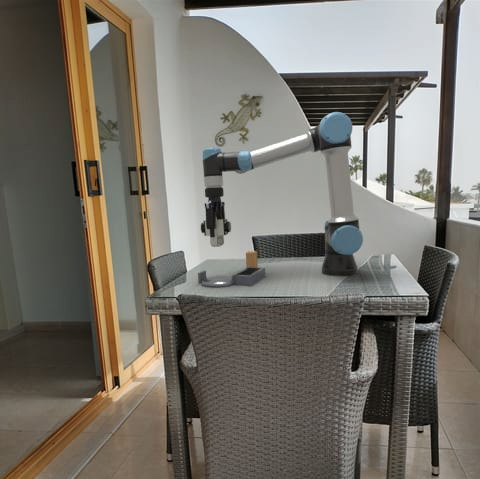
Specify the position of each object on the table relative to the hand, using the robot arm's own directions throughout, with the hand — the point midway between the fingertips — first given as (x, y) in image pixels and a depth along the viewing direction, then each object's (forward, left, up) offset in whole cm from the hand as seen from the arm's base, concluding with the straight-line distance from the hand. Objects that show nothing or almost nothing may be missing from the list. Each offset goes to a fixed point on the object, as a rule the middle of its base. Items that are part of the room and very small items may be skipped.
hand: (217, 243), depth 147 cm
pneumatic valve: (0, 0, -1) cm, 1 cm away
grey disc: (0, 0, -17) cm, 17 cm away
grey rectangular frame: (-11, -6, -17) cm, 21 cm away
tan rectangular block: (-7, -20, -17) cm, 27 cm away
